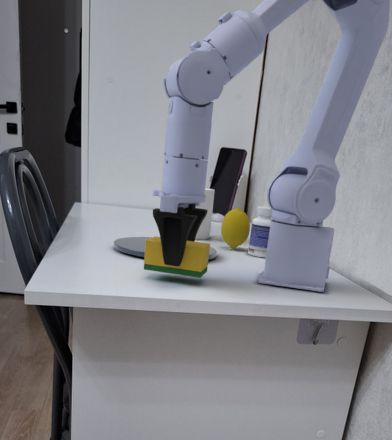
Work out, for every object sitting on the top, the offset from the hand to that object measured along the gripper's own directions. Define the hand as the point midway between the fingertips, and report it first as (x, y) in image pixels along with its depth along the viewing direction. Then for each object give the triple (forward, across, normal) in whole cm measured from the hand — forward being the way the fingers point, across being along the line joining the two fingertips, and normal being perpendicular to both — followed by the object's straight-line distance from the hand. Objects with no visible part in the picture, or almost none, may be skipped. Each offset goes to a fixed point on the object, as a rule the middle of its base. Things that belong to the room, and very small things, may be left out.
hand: (176, 262), depth 75 cm
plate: (+2, -20, -7) cm, 21 cm away
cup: (+3, -42, -9) cm, 43 cm away
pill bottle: (+3, -31, +9) cm, 32 cm away
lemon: (+3, -34, +3) cm, 34 cm away
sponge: (+1, 0, 0) cm, 1 cm away
